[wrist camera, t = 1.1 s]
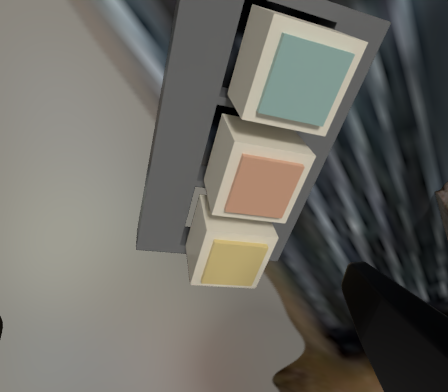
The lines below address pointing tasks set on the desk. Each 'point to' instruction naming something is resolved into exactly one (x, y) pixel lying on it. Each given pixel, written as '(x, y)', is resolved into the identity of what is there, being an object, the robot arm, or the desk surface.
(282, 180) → the key
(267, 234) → the key
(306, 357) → the desk surface
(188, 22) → the keypad base
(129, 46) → the desk surface
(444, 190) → the geological specimen
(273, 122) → the key
